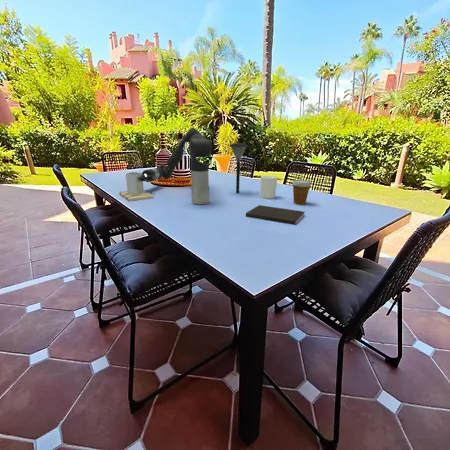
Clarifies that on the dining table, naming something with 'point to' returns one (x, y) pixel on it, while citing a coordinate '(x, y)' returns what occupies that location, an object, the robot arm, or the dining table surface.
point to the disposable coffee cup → (300, 191)
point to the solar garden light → (238, 159)
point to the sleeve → (134, 184)
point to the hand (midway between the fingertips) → (134, 179)
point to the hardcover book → (275, 214)
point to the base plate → (133, 198)
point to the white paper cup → (268, 186)
